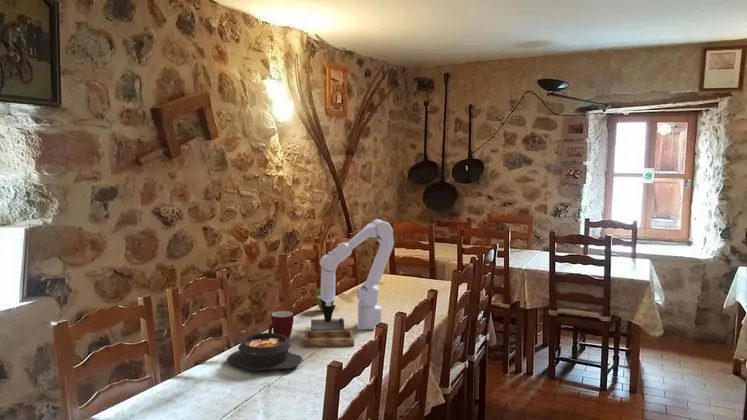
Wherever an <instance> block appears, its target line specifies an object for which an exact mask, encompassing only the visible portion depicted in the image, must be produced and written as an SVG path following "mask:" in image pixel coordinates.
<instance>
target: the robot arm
mask: <svg viewBox="0 0 747 420" xmlns="http://www.w3.org/2000/svg"><path fill="white" fill-rule="evenodd" d="M369 238H377V241H378V243H379V247H378V249H377V253H376V255H375V257H374V259H373V262H372V265H371V268H370V271H369V272H368V275H367V278H366V280H365V281H363V283H362V285H361V286H360V288H359V289H358V290H357V292H356V297H357V300H359V301H358V304H357V322H355V325H356V328H357V330H358V331H359V330H360V331H361V330H362V331H363V330H375V329H374V327H375V325H376V324H377V323H380V322H381V323H382V307H381V305H379V304H378V305H377V303H378V300H379V297H378V296H379V293H380V292H379V291H380V288H379V284H380V282H381V279H382V276H383V275H384V271H385V268H386V267H387V263H388V261H389V259H390V256H391V254H392V251H393V249H394V245H395V241H394V228H393V227H392V225H391V224H390V223H389V222H388V221H384V220H382V219H379V218H376V219H373V220H372V221H371V222H370V223H367V224H366V225H365V226H364V228H363V227H362V229H361V230H360V231H359V232H358V233H356V234H355V235H354V236H353V237H352V238H350V240H348V242H341V243H340V242H338V244H337V246H336V247H335V248H334V249H332V250H331V251H328V252H327V254H325V255H322V257H321V258H320V261H319V265H320V267H321V273H320V287H321V296H318V299H320V300H321V302H322V304H321V307H322V309H323V311H322V312H323V317H324V318H323V319H325V322H331V319H333V317H332V316H333V313H334V311H335V308H336V304H334V302H335V300H336V270H337V268H338V266H339V264H341V263H342V262H343V261H344V260H346V259H347V258H348V257H350V255H352V253H353V250H354V249H355V248H356V247H357V246H358V245H361V244H362V243H363V242H364V241H365V240H368V239H369ZM332 304H333V305H332Z"/></svg>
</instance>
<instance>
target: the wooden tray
mask: <svg viewBox="0 0 747 420" xmlns="http://www.w3.org/2000/svg"><path fill="white" fill-rule="evenodd" d="M324 347H325V348H326V347H327V348H329V347H332V348H333V347H355V337H354V333H353V330H351V329H350V330H345V329H344V330H341V331H311V330H306V331H305V330H304V348H324Z"/></svg>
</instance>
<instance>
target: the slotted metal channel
mask: <svg viewBox="0 0 747 420" xmlns="http://www.w3.org/2000/svg"><path fill="white" fill-rule="evenodd" d="M310 331H345V319H344V317H339V318H331V322H325V319H324V318H321V319H320V318H319V319H318V318H317V319H315V318H314V319H310Z"/></svg>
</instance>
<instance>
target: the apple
mask: <svg viewBox="0 0 747 420" xmlns="http://www.w3.org/2000/svg"><path fill="white" fill-rule="evenodd" d="M315 296H316V297H315V299H316V303H317V305H318V308H319V309H320V311H321V312H323V309H322V307H321V304H322V302H321V300H320V299H318V296H321V286H320V287H319V288H317V290H316V292H315ZM332 305H334V303H333V304H332Z"/></svg>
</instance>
